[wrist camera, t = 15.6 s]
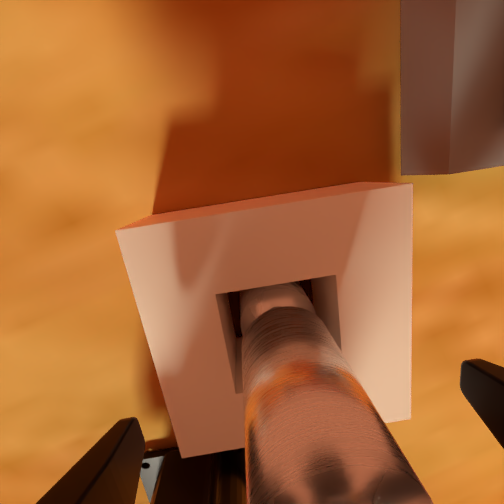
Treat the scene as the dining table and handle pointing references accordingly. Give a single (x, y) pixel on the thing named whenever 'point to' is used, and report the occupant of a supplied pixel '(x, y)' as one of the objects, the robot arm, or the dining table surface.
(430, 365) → the dining table surface
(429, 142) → the socket block
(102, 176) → the dining table surface
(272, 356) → the steel pin
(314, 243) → the square hole block
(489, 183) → the dining table surface
